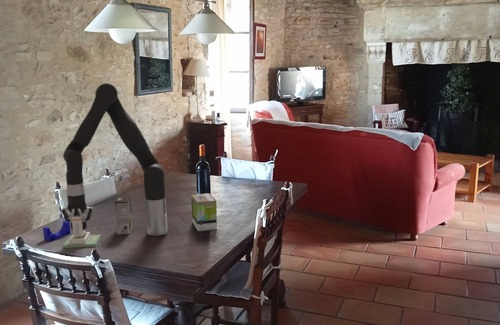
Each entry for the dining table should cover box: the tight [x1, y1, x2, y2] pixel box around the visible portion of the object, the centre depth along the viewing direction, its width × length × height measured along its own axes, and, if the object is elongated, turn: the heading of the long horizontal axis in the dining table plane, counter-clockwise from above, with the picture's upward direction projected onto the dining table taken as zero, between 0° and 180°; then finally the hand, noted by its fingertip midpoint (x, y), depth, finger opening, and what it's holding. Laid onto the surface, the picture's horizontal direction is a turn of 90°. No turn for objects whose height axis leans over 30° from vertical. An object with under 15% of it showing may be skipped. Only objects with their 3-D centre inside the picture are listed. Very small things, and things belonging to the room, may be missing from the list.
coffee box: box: [114, 196, 133, 235], centre depth 235 cm, size 9×6×16 cm
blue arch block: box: [42, 220, 72, 242], centre depth 230 cm, size 12×4×6 cm, turn 145°
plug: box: [72, 215, 86, 237], centre depth 220 cm, size 4×6×9 cm
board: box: [62, 231, 102, 249], centre depth 222 cm, size 14×12×3 cm
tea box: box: [190, 192, 218, 232], centre depth 241 cm, size 15×10×15 cm, turn 17°
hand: (79, 229), depth 221 cm, fingers closed on plug, 4 cm apart
